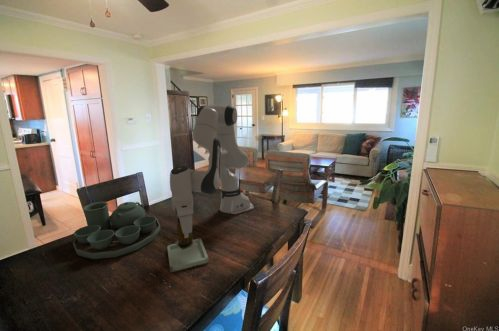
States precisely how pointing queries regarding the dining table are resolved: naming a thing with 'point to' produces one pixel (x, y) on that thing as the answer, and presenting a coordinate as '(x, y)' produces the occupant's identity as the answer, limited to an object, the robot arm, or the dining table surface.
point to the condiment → (183, 241)
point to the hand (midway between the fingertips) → (185, 233)
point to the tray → (186, 256)
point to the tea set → (114, 230)
